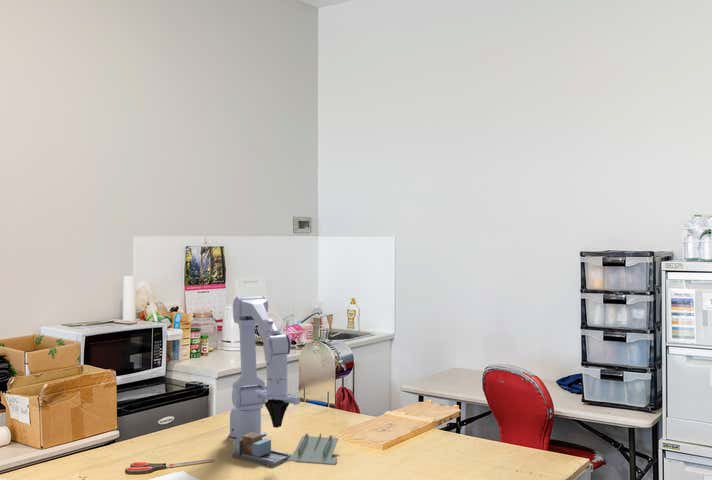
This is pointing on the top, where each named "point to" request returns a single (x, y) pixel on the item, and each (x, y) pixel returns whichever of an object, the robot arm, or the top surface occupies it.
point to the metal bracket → (315, 450)
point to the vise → (267, 459)
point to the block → (249, 442)
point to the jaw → (261, 447)
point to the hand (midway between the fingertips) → (277, 426)
